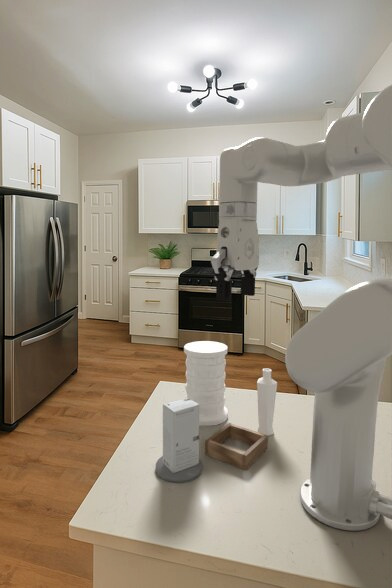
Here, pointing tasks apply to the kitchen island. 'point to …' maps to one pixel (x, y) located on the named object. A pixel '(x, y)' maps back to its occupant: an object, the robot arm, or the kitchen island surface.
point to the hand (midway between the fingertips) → (236, 297)
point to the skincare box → (180, 434)
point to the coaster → (180, 475)
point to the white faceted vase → (266, 402)
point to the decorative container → (207, 380)
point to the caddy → (232, 455)
